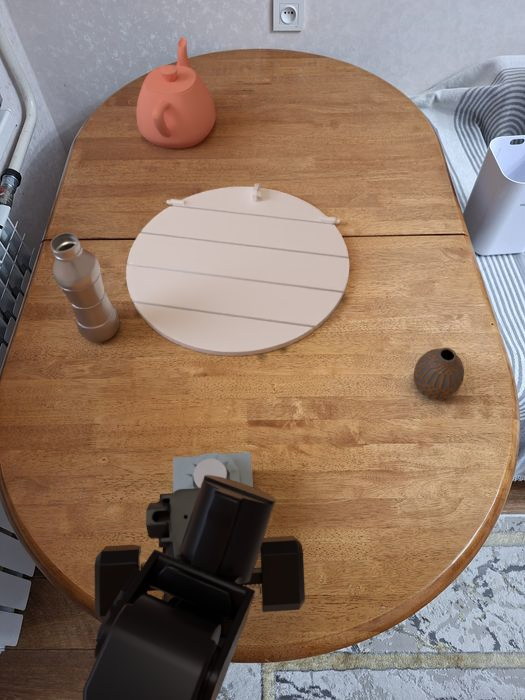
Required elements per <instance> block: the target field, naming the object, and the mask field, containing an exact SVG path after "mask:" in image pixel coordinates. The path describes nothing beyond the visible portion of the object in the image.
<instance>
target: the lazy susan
mask: <svg viewBox="0 0 525 700" xmlns="http://www.w3.org/2000/svg"><path fill="white" fill-rule="evenodd" d="M166 205H169V206H167V207H165V208H164V209H163V210H161V211H160V212H159V213H157V214H156V215H155V216H154V217H153V218H151V220H149V221H148V222H147V224H145V225H144V227H143V228H142V229H141V230H140V233H138V235H137V236H136V238H135V240H134V241H133V243H132V245H131V247H130V251H129V253H128V256H127V260H126V261H127V262H126V267H125V278H126V286H127V289H128V293H129V296H130V299H131V301H132V303H133V304H132V305H134V308H135V310H136V311H137V312H138V314H139V315H140V317H141V318H142V319H143V321H144V322H145V323H146V324H148V326H149V327H150V328H151V329H152V330H154V331H155V332H156V333H157V334H158V335H160V336H161V337H163V338H165V339H167V340H168V341H170V342H172V343H174V344H176V345H177V346H180V347H182V348H185V349H188V350H191V351H195V352H198V353H202V354H207V355H214V356H224V357H242V356H254V355H260V354H265V353H269V352H273V351H277V350H279V349H282V348H285V347H288V346H290V345H293V344H295V343H296V342H298V341H301V340H302V339H304V338H306V337H307V336H309V335H311V334H312V333H313V332H314V331H316V330H317V329H319V328H320V327H321V326H322V325H324V323H325V322H326V321H327V320H328V319H329V318H330V317H331V316H332V315H333V314H334V312H335V311H336V310H337V308H338V307H339V305H340V303H341V301H342V299H343V298H344V297H343V296H344V295H345V292H346V289H347V285H348V282H349V275H350V258H349V257H350V255H349V251H348V247H347V244H346V241H345V239H344V237H343V236H342V234H341V232H340V230H339V229H338V228H337V226H336V224H337V225H340V223H341V222H340V221H341V219H339V218H337V217H335V216H327V215H326V214H325V213H324V212H322V211H321V210H320V209H318V208H317V207H315V206H314V205H312V204H311V203H309V202H307V201H305V200H303V199H302V198H299V197H297V196H295V195H292V194H289V193H286V192H283V191H279V190H276V189H271V188H265V187H262V183H259V182H255V183H254V185H253V186H227V187H221V188H214V189H210V190H205V191H201V192H199V193H195V194H192V195H189V196H187V197H184V198H183V199H176V198H171V199H166Z"/></svg>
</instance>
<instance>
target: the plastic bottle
mask: <svg viewBox="0 0 525 700" xmlns="http://www.w3.org/2000/svg"><path fill="white" fill-rule="evenodd" d="M50 249H51V251H52V254H53V255H52V256H53V257H54V258H55V259H54V262H53V265H52V275H53V279H54V281H55V282H56V284H57V285H58V287H59V288H60V289H61V290H62V292H63V293H64V294H65V295H66V298H67V299H68V302H69V303H70V305H71V307H72V311H73V313H74V316H75V323H76V327H77V330H78V332H79V333H80V334H81V335H82V336H83V338H85V339H86V341H87V340H88V341H89V342H93V343H102V342H106V341H107V340H109V339H111V338H113V336H114V335H115V334H116V333H117V331H118V329H119V327H120V316H119V312H118V310H117V309H116V307H115V306H114V304H113V303H112V302H111V300H110V298H109V296H108V294H107V291H106V289H105V285H104V282H103V278H102V272H101V271H102V270H101V266H100V262H99V260H98V258H97V257H96V255H94V253H92V252H91V251H90V250H88V249H85V248H83V246H82V243H81V242H80V241H79V238H78V236H77V235H76V234H75V233H73V232H62V233H59V234H57V235H55V237H53V238H52V239H51V241H50Z"/></svg>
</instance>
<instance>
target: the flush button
mask: <svg viewBox="0 0 525 700" xmlns="http://www.w3.org/2000/svg"><path fill="white" fill-rule="evenodd" d="M205 475H212V476H218V477H222V478H226V479H228V476H227V471H226V467H225V466H224V464H223V463H222V462H221V461H219V460H217V459H206V460H203V461H201V462H200V463H199V464H198V465H197V466H196V468H195V470H194V475H193V476H194V481H195V484H196V487H197V488H200V487H201V484H202V482H203V479H204V476H205Z"/></svg>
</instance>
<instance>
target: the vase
mask: <svg viewBox="0 0 525 700" xmlns="http://www.w3.org/2000/svg"><path fill="white" fill-rule="evenodd" d="M464 377H465V366H464V363H463V361H462V359H461V358H460V356H459V355H458V354H457V353H456V351H455V350H454V349H452V348H450V347H441V348H440V347H439V348H438V347H437V348H434V349H430V350H428V351H426V352H425V353H424V354H422V356H421V357H419V359H418V360H417V362H416V364H415V366H414V370H413V382H414V385H415V387H416V389H417V391H418V392H419V393H420V394H421V395H422V396H424V397H425V398H427V399H430V400H434V401H441V400H445V399H448V398H451V397H452V396H454V395H455V394H456V393H457V392H458V391H459V389H460V388H461V387H462V384H463V382H464V379H465V378H464Z"/></svg>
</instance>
